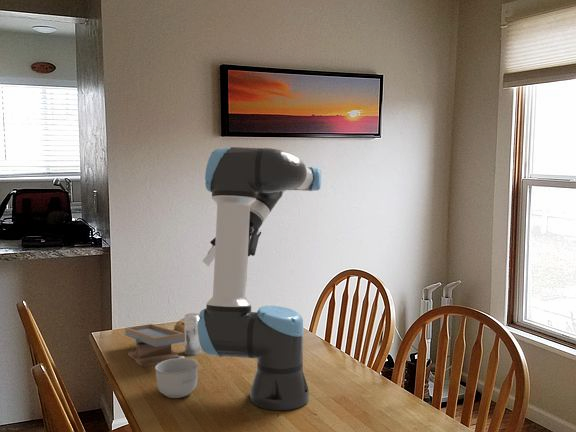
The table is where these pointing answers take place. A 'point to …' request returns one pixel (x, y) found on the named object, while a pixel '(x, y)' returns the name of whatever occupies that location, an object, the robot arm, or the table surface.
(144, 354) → the fulcrum
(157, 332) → the rectangular tray
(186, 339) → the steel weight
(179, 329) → the bread roll
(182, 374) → the teacup
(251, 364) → the table surface
